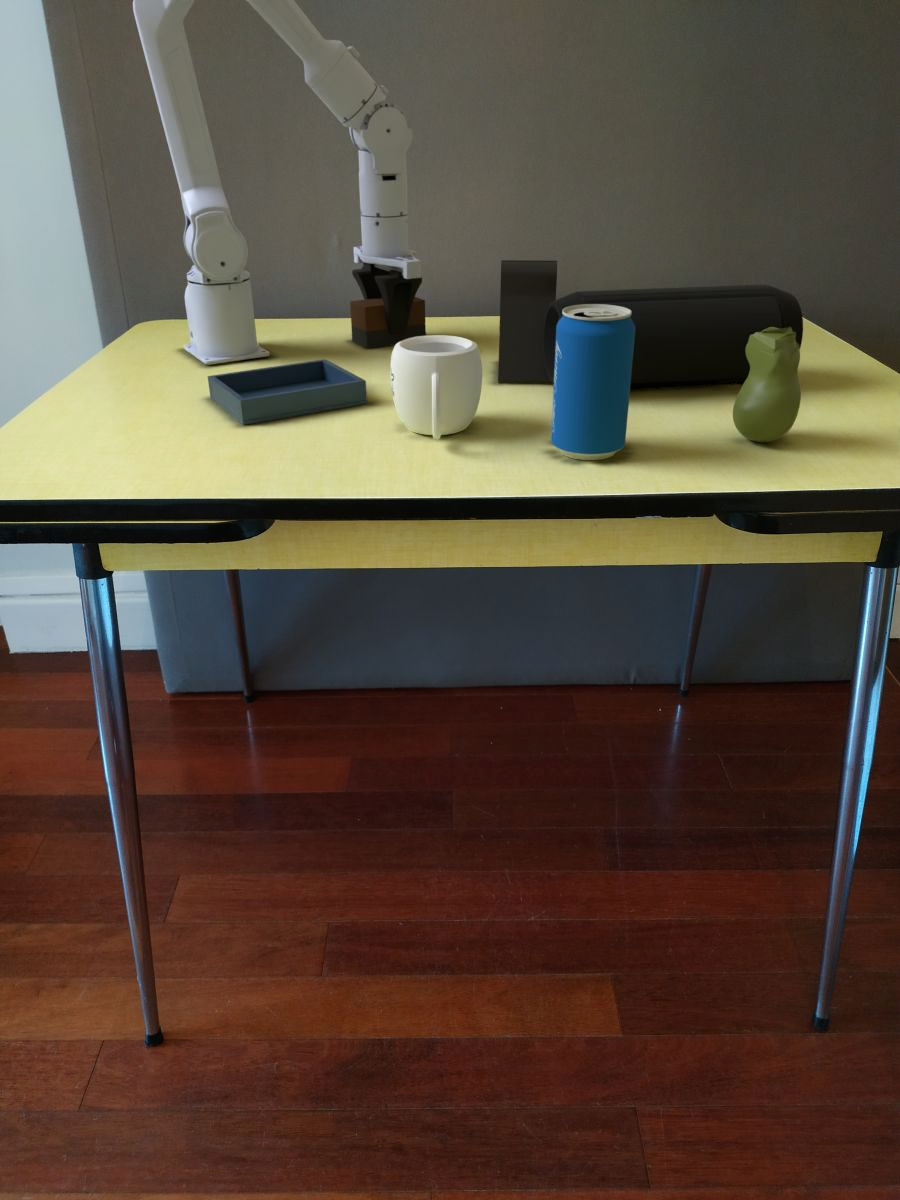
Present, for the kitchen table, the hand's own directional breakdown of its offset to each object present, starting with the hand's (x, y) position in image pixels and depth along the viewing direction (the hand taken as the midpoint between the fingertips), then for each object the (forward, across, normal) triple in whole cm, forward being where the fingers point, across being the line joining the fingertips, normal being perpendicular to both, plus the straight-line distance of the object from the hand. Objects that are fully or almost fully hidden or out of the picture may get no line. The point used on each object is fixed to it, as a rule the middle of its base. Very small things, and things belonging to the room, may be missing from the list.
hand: (388, 329), depth 116 cm
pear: (+2, -52, -11) cm, 53 cm away
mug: (+2, -35, +13) cm, 37 cm away
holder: (+1, -18, +21) cm, 28 cm away
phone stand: (+2, -22, -6) cm, 23 cm away
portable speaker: (+2, -34, -16) cm, 38 cm away
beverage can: (+2, -46, +4) cm, 46 cm away
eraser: (+1, 0, 0) cm, 1 cm away
